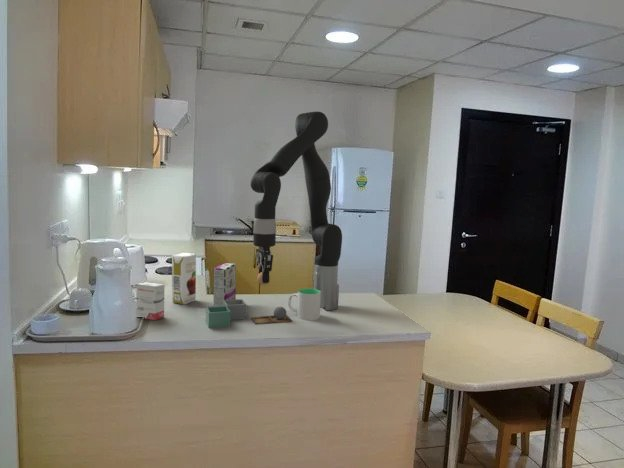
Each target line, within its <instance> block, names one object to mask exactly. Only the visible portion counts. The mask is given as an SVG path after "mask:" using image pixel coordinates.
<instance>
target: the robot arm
mask: <svg viewBox="0 0 624 468" xmlns="http://www.w3.org/2000/svg"><path fill="white" fill-rule="evenodd" d="M294 128H295V133H296V134H295V135H296V136H295V137H294V138H293V139H292V140H290V141H289V142H287V143H285V144H284V145H283V146H282V147H280V148H279V150H277V152H276V153H275V154H274V155H273V157H272V158H271V159H270V160H269V161H268V162H266V163H265V164H263V165H262V166H261V167H260V168H258V169H257V170H255V172H254V173H253V174H252V176H251V178H250V187H251V189H252V191H254V192H255V193H258V194H263V196H262V199H260V200H258V201H256V202H255V204H254V219H253V232H252V233H253V235H252V236H253V239H252V242H253V246H255V247H258V248H256V250H255V254H256V267H257V269H258V274H259V273H261V272H262V282H263V283H268V284H269V283H270V282H269V275H270V273H271V272H272V271H273V261H274V260H273V259H274V255H273V254H272V251H271V247H275V246H276V241H277V240H276V239H277V235H276V234H277V224H276V223H277V222H276V207H277V203H278V201H279V196H280V193H281V190H282V182H281V178H280V177H284V176H286V174H288V172H289V171H290V170H291V168H292V167H294V164H295V163H296V162H297V161H298V159H299V158H300V157H301V159H302V165H303V171H304V178H305V179H304V180H305V186H306V192H307V197H308V198H307V199H308V206H309V211H310V232H311V238H312V240H313V243H315V245H316V246H319V247H321V252H320V254H319V255H316V256H315V257H314V268H313V289H317V290H320V291H321V296H320V309H323V310H324V311H332V310H336V309H339V298H340V297H339V296H340V295H339V294H340V292H339V291H340V284H339V283H338V276H339V275H338V274H339V273H338V271H339V261H340V258H341V254H342V245H343V232H342V230H341V228H340V226H338V225H337V224H333V223H329V221H328V215H327V206H328V203H329V199H330V196H331V191H332V185H331V184H332V183H331V177H330V172H329V170H328V167H327V165H326V164H325V162H324V161H323V160H322V158H321V156H320V155H319V154H318V151H317V148H316V144H315V143H316V142H318V141H319V140H320V139H321V138H322V137H323V136H324V135H326V133H327V131H328V128H329V120H328V117H327V116H326V114H325V113H323V112H321V111H310V112H304V113H303V112H302V113H299V114H298V115H297V116H296V118H295V121H294Z"/></svg>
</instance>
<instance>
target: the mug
mask: <svg viewBox="0 0 624 468" xmlns="http://www.w3.org/2000/svg"><path fill="white" fill-rule="evenodd" d="M320 296H321V291H320V290H317V289H314V288H301V289H298V291H297V293H296V292H295V293H292V294H290V295H289V297H288V301H287V302H288V307H289V310H291V312H293V313H296V315H297V319H299V320H303V321H316V320H319V319H320V316H321V308H320ZM293 297H296V298H297V308H296V309H295V308H294V307H293V305H292V298H293Z"/></svg>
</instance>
